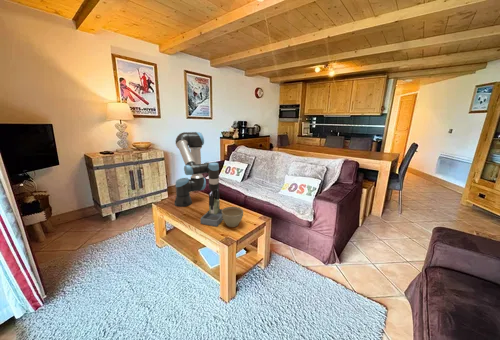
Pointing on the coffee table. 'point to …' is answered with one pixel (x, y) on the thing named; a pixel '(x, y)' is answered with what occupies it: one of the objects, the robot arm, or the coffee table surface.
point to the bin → (212, 219)
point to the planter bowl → (232, 216)
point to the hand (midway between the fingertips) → (214, 211)
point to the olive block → (215, 207)
